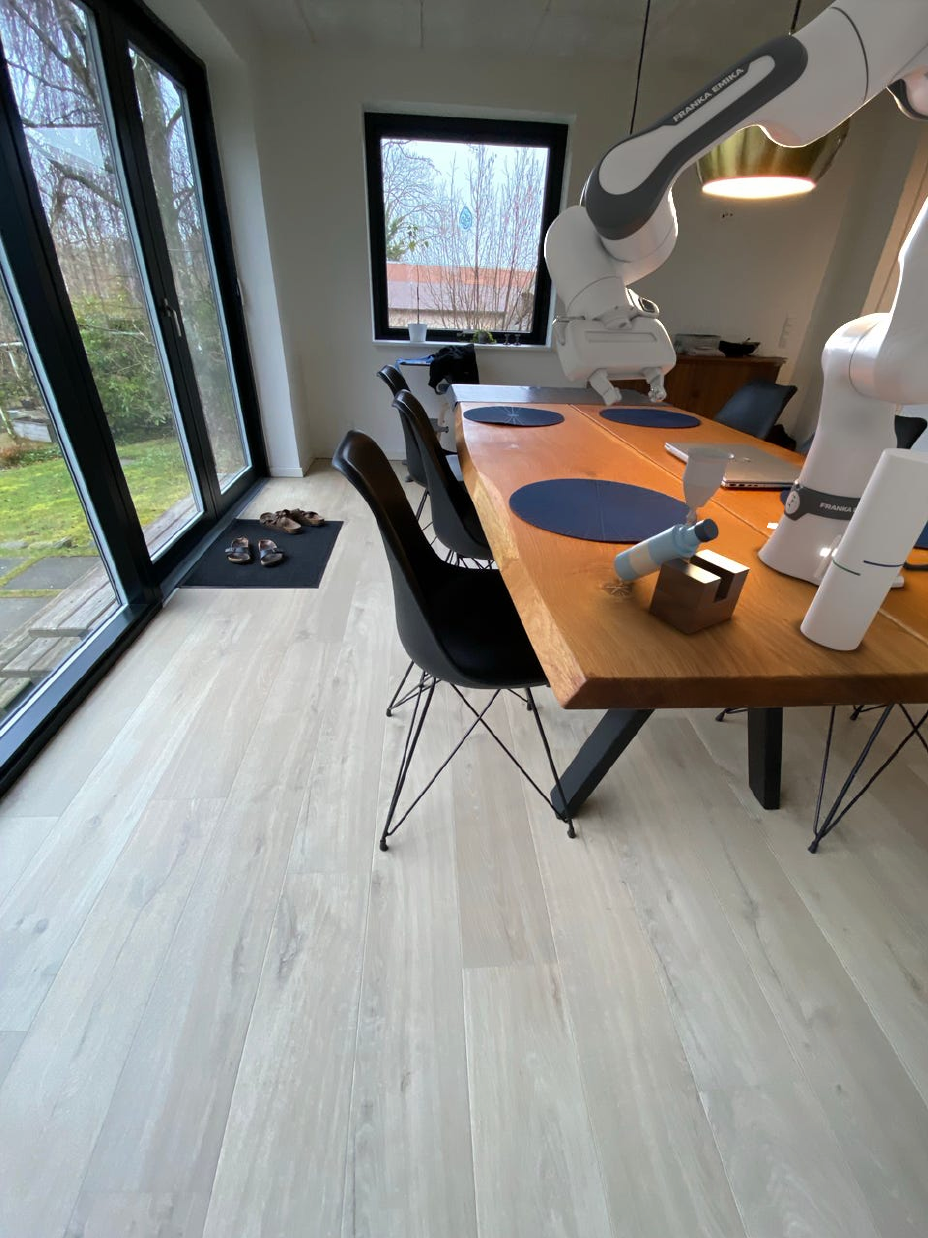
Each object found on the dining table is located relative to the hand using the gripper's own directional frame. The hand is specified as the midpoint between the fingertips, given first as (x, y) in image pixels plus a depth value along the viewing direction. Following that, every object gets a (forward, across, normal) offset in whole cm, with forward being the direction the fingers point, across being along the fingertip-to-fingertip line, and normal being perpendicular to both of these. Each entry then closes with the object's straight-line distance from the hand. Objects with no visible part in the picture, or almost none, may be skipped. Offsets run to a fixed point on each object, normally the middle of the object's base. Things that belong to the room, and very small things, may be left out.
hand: (638, 401), depth 75 cm
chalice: (+20, +18, +17) cm, 32 cm away
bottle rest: (+31, 0, +6) cm, 32 cm away
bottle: (+26, 0, +11) cm, 28 cm away
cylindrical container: (+41, +13, -3) cm, 43 cm away
